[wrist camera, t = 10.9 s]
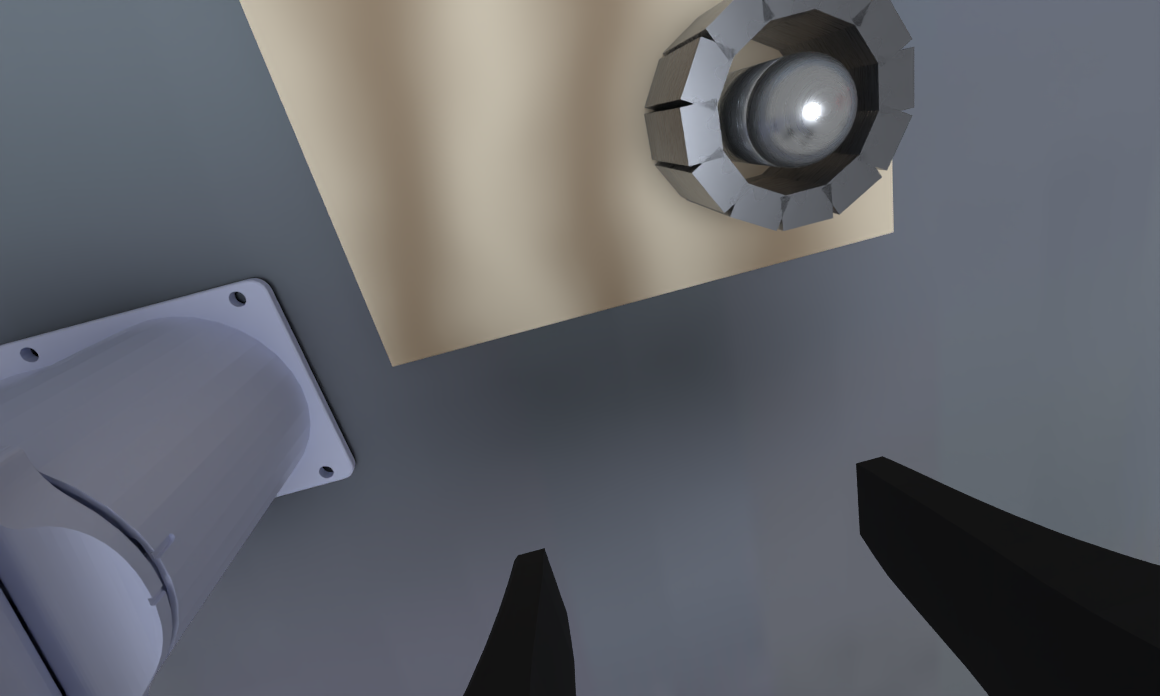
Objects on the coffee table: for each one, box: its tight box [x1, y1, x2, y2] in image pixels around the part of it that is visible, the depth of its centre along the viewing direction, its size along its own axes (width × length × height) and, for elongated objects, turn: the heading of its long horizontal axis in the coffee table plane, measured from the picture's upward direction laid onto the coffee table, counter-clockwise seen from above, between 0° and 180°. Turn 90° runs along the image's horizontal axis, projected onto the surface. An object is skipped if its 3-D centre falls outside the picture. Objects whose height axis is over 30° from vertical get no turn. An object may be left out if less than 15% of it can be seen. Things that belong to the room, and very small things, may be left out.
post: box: [717, 51, 858, 168], centre depth 14 cm, size 3×3×5 cm
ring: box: [644, 0, 914, 231], centre depth 15 cm, size 6×6×4 cm
